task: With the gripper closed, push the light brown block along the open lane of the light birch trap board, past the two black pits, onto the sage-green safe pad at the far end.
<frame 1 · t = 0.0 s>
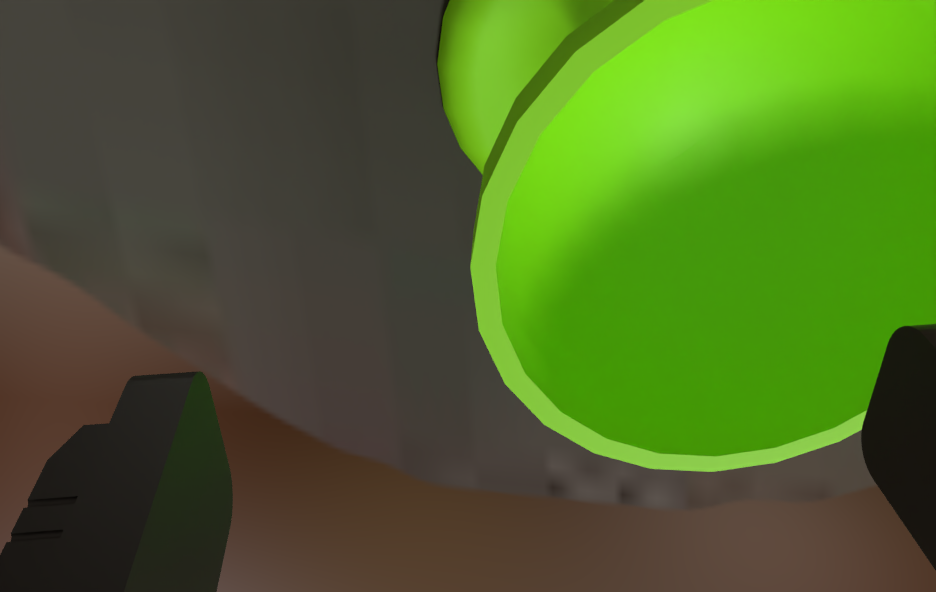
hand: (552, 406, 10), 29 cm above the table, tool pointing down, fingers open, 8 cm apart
wineglass: (611, 61, 38), on the table
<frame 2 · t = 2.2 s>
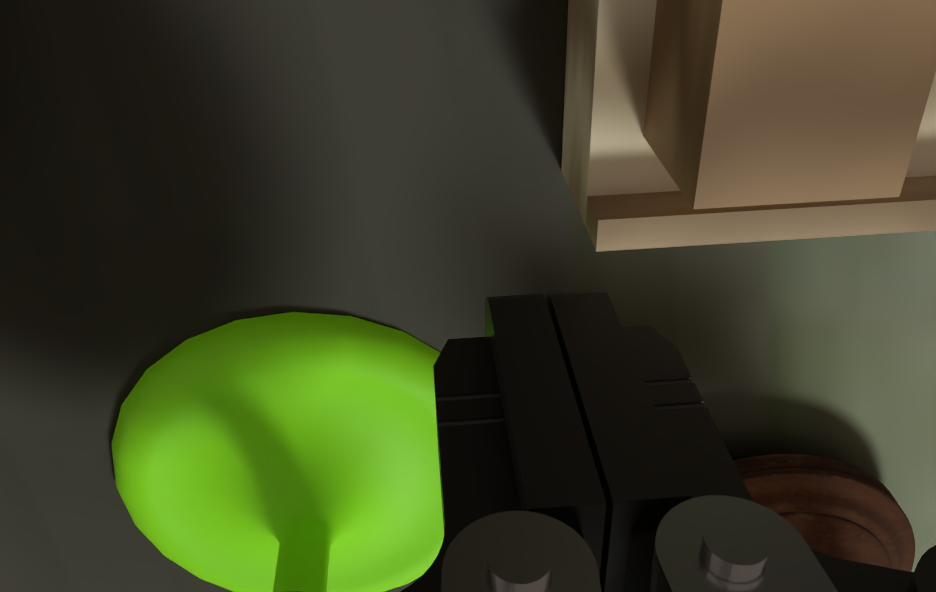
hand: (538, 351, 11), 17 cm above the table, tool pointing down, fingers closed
wineglass: (313, 467, 35), on the table
brown piece: (730, 542, 39), on the table
light brown block: (744, 42, 22), point 4 cm above the table, touching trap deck
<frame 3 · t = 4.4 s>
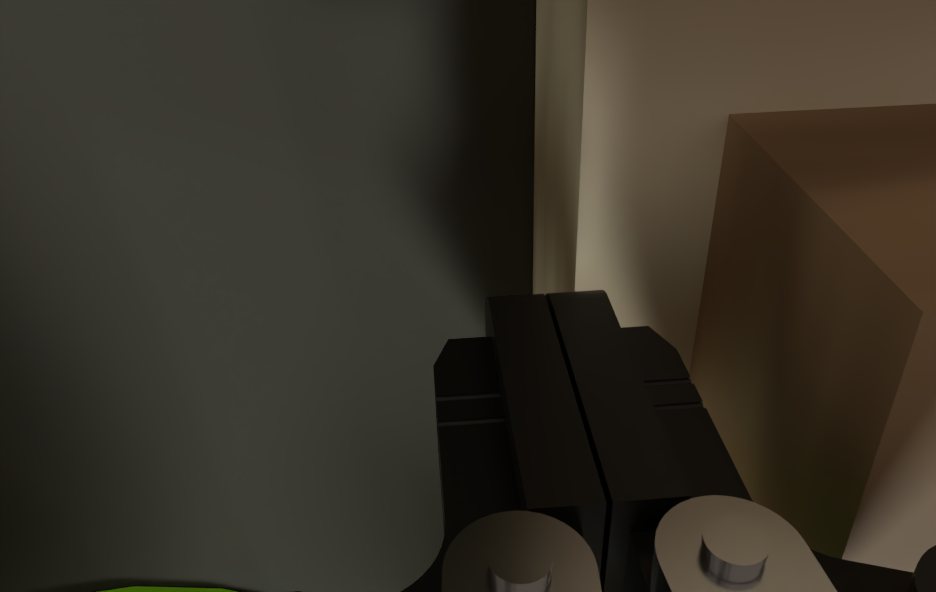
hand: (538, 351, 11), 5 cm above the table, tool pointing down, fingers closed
light brown block: (874, 273, 12), point 4 cm above the table, touching gripper, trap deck
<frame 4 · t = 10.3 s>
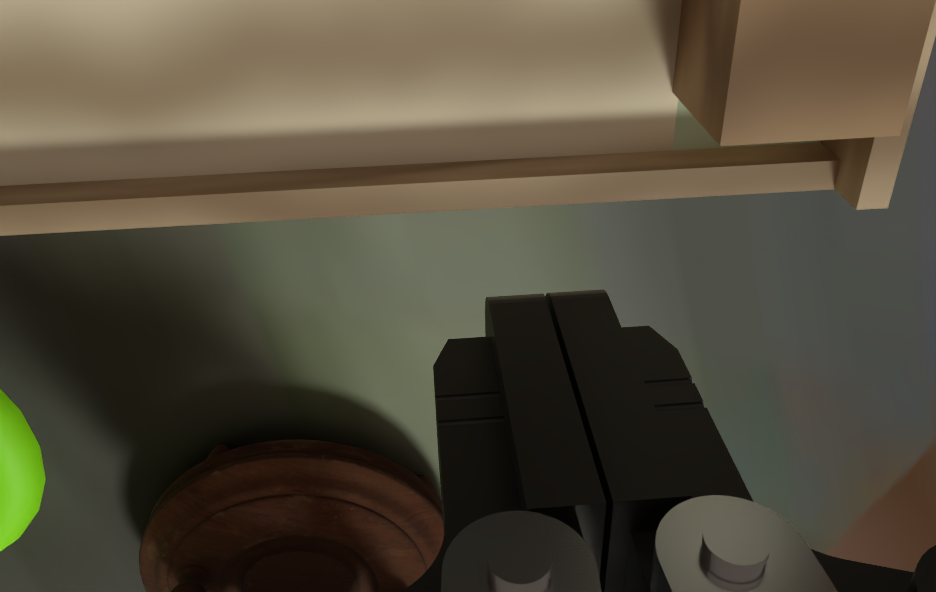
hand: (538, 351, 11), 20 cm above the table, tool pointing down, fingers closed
brown piece: (307, 527, 41), on the table
light brown block: (762, 6, 25), point 4 cm above the table, touching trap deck
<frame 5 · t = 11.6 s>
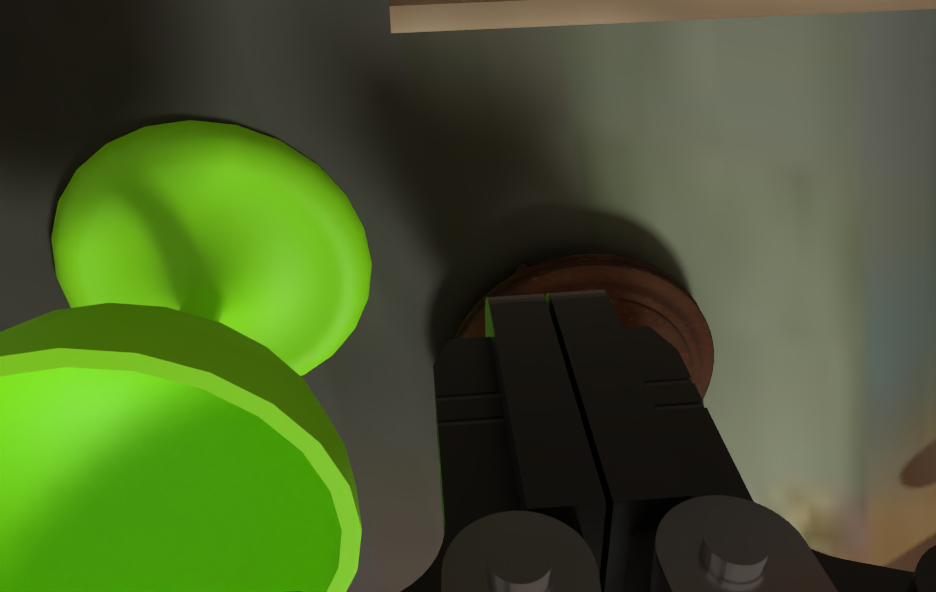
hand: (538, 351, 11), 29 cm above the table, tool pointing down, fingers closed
wineglass: (216, 266, 43), on the table
brown piece: (572, 350, 48), on the table
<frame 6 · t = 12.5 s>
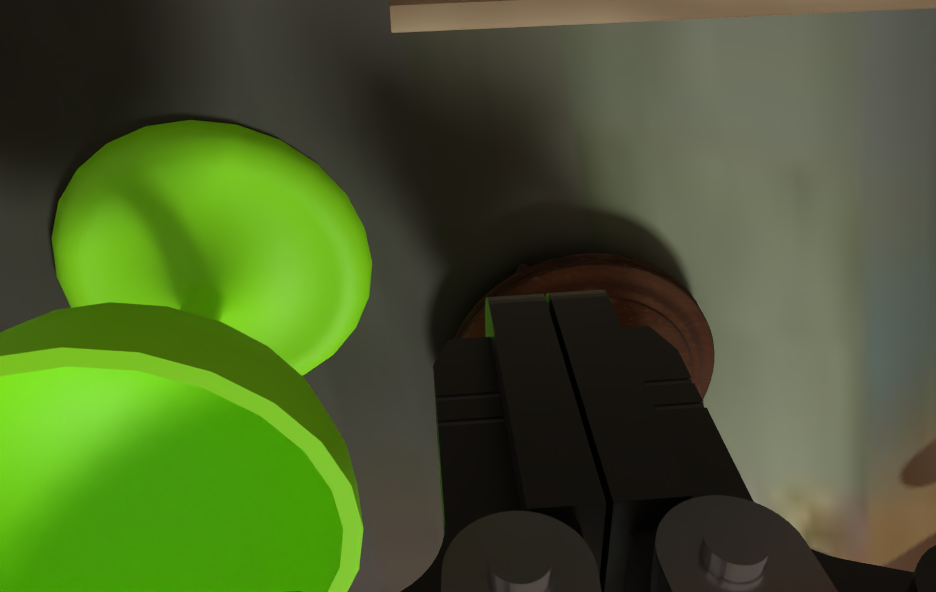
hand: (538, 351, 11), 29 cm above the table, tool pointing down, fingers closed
wineglass: (217, 266, 43), on the table
brown piece: (572, 349, 48), on the table
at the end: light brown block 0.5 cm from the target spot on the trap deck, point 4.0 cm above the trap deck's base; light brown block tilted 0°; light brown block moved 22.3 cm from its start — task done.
